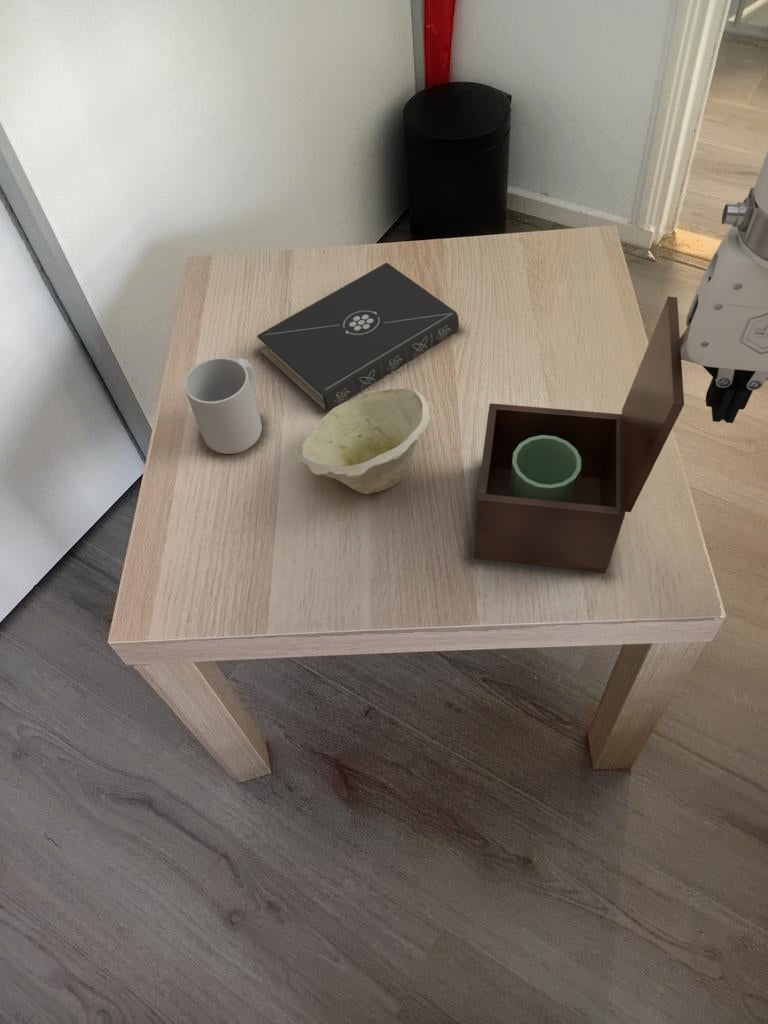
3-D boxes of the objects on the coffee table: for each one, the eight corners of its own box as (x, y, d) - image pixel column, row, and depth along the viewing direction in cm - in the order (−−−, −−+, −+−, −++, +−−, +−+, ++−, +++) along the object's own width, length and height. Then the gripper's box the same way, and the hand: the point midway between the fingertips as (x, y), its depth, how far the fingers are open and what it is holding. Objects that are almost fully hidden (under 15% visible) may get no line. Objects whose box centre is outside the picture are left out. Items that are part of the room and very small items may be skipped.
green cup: (570, 489, 85) (582, 438, 79) (568, 540, 82) (580, 490, 75) (509, 483, 86) (515, 432, 80) (504, 533, 83) (509, 483, 76)
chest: (473, 558, 82) (477, 499, 74) (485, 465, 89) (489, 402, 81) (606, 573, 80) (625, 514, 72) (607, 477, 87) (624, 414, 79)
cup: (192, 446, 94) (171, 393, 86) (233, 389, 99) (217, 335, 92) (244, 462, 92) (227, 410, 84) (284, 404, 97) (271, 350, 90)
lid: (673, 403, 59) (684, 404, 59) (667, 296, 67) (677, 297, 67) (621, 511, 71) (630, 512, 71) (621, 410, 78) (629, 411, 78)
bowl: (365, 405, 96) (358, 343, 88) (456, 459, 90) (458, 398, 82) (279, 481, 90) (263, 421, 82) (371, 544, 84) (363, 487, 76)
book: (327, 414, 95) (325, 397, 93) (260, 352, 102) (256, 335, 100) (459, 332, 102) (459, 314, 100) (387, 279, 110) (386, 261, 107)
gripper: (690, 252, 52) (632, 434, 67) (934, 266, 50) (818, 452, 65) (685, 187, 56) (632, 372, 71) (909, 198, 54) (806, 387, 69)
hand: (721, 410), depth 68 cm, fingers closed
